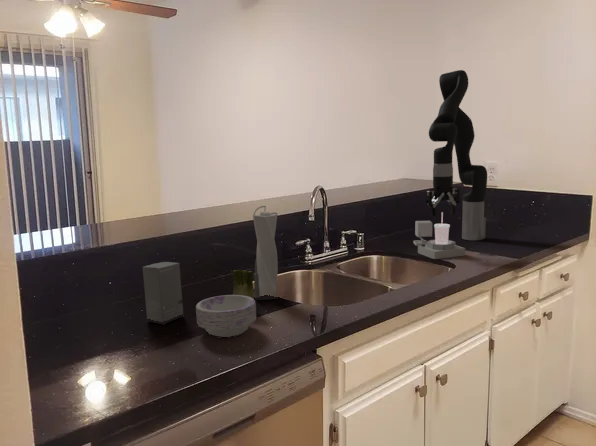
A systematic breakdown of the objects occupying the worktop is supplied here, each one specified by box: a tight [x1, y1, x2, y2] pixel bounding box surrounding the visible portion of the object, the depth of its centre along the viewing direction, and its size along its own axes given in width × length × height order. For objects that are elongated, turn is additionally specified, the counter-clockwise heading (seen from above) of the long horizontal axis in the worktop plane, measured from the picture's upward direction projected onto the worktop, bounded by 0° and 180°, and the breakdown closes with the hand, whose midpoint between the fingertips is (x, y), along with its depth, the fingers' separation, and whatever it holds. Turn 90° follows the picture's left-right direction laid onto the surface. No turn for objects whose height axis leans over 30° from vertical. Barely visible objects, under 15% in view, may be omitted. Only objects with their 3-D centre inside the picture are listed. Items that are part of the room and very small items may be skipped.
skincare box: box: [142, 261, 184, 322], centre depth 151 cm, size 8×7×16 cm
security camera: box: [413, 220, 433, 247], centre depth 239 cm, size 6×7×10 cm
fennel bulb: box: [232, 269, 254, 299], centre depth 157 cm, size 6×5×12 cm
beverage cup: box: [433, 211, 451, 244], centre depth 218 cm, size 6×6×14 cm
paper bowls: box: [195, 294, 257, 336], centre depth 141 cm, size 15×15×8 cm
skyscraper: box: [252, 205, 279, 298], centre depth 168 cm, size 8×8×28 cm
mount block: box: [417, 239, 466, 260], centre depth 219 cm, size 14×12×5 cm
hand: (442, 215), depth 217 cm, fingers open, 8 cm apart
